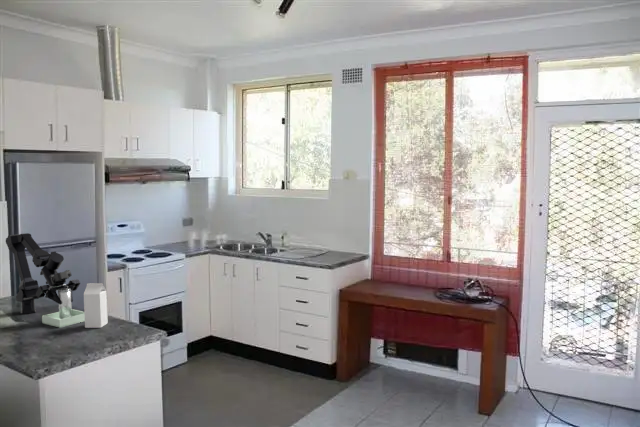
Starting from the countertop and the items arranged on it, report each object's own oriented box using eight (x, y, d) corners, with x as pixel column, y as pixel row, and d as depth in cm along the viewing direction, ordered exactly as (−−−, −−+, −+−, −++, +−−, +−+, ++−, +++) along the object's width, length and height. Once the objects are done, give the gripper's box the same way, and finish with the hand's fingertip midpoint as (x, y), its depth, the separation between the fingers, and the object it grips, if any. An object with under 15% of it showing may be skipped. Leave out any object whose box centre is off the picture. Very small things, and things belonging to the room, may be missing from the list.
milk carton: (101, 328, 234) (99, 285, 233) (84, 328, 234) (83, 285, 233) (107, 323, 241) (106, 281, 240) (92, 323, 241) (90, 281, 240)
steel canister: (57, 317, 244) (55, 289, 244) (68, 315, 248) (67, 287, 247) (62, 319, 241) (60, 291, 240) (74, 317, 245) (72, 289, 244)
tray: (42, 323, 243) (42, 315, 243) (71, 316, 254) (71, 308, 254) (59, 327, 235) (59, 319, 235) (89, 320, 247) (88, 312, 247)
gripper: (38, 268, 237) (53, 295, 232) (77, 262, 253) (92, 288, 248) (29, 283, 242) (44, 311, 237) (68, 277, 258) (82, 302, 253)
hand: (66, 302), depth 243 cm, fingers closed on steel canister, 5 cm apart
